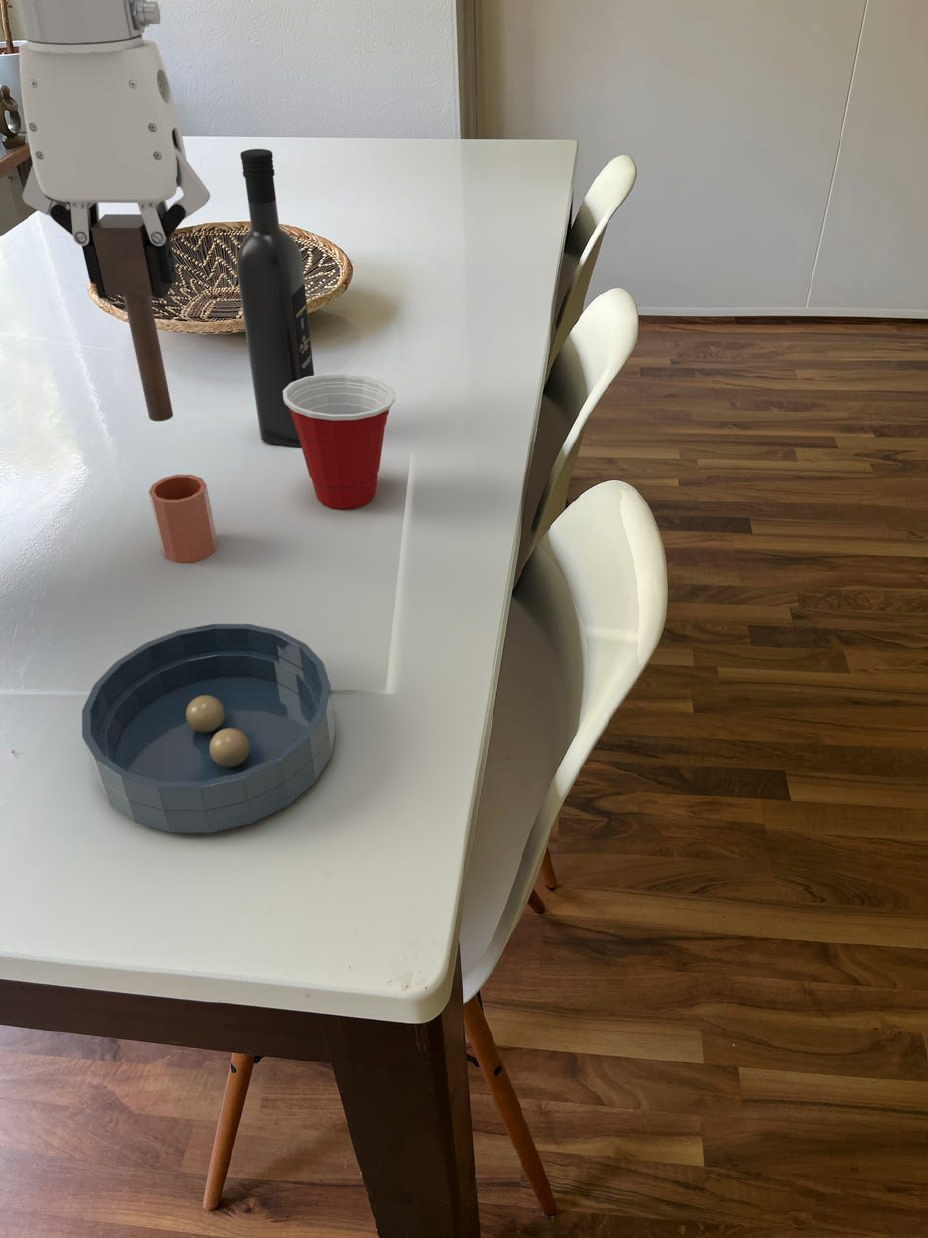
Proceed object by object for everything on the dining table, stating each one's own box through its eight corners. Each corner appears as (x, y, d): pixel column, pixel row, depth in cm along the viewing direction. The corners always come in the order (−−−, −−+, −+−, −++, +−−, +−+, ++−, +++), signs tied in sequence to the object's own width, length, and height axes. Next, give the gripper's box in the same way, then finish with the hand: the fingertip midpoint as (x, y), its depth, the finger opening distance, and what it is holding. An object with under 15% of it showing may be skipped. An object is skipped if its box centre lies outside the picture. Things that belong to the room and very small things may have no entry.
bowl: (65, 838, 67) (46, 787, 64) (135, 671, 80) (121, 623, 77) (319, 839, 66) (312, 788, 63) (346, 672, 80) (341, 623, 77)
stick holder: (158, 567, 92) (143, 502, 88) (171, 537, 96) (157, 474, 92) (211, 567, 92) (199, 502, 88) (222, 537, 96) (210, 474, 92)
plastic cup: (422, 498, 102) (418, 389, 94) (340, 538, 96) (329, 426, 88) (355, 462, 108) (347, 357, 101) (274, 498, 102) (259, 389, 95)
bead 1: (185, 740, 73) (178, 713, 71) (194, 714, 75) (187, 687, 74) (223, 741, 73) (217, 713, 71) (230, 714, 75) (225, 687, 74)
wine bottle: (322, 426, 115) (294, 146, 96) (306, 449, 110) (273, 160, 92) (276, 421, 116) (239, 143, 97) (258, 444, 111) (216, 157, 93)
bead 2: (209, 775, 70) (202, 747, 69) (217, 747, 73) (211, 720, 71) (248, 775, 70) (242, 748, 69) (255, 747, 72) (250, 720, 71)
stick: (134, 425, 82) (90, 227, 73) (145, 406, 85) (104, 213, 76) (177, 425, 82) (139, 227, 73) (187, 406, 85) (151, 213, 76)
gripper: (216, 14, 69) (250, 276, 80) (-21, 13, 69) (46, 276, 80) (193, 28, 63) (233, 310, 74) (-66, 27, 63) (13, 309, 74)
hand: (135, 290), depth 77 cm, fingers closed on stick, 3 cm apart
